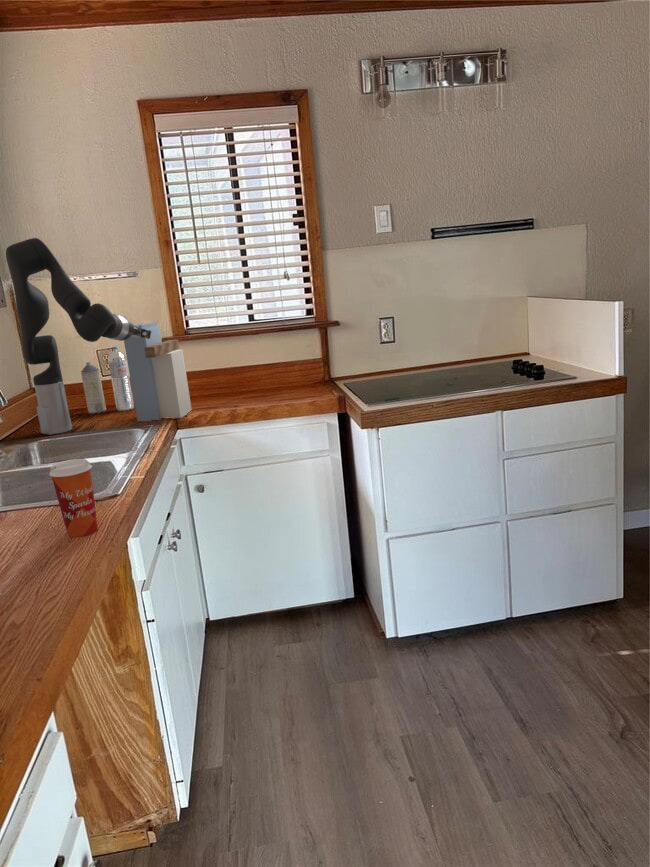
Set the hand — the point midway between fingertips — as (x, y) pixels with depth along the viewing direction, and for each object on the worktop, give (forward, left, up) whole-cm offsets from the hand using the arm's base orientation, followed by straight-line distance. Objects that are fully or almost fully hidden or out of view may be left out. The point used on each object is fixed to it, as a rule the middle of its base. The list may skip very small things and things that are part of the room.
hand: (134, 331), depth 206 cm
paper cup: (-64, -66, -33) cm, 97 cm away
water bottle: (+18, +41, -33) cm, 56 cm away
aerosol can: (+11, +50, -33) cm, 61 cm away
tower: (+13, +14, -33) cm, 38 cm away
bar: (+15, +7, -10) cm, 19 cm away
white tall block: (+18, +8, -33) cm, 38 cm away
